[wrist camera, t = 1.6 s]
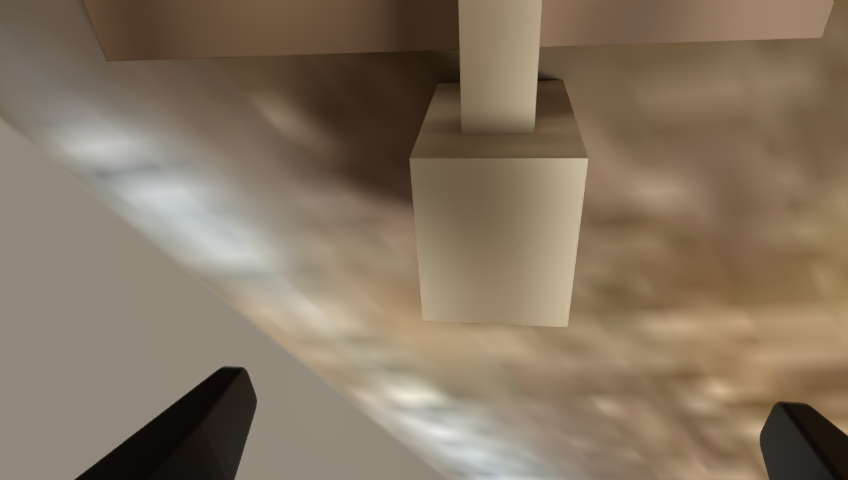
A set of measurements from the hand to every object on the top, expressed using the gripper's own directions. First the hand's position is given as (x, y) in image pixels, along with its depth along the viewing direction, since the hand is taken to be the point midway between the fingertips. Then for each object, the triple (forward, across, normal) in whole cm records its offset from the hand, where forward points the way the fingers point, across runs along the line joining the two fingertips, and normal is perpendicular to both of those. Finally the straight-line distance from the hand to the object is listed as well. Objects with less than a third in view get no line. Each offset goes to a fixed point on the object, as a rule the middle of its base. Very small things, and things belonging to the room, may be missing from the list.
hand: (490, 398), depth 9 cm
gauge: (+11, 0, -4) cm, 12 cm away
